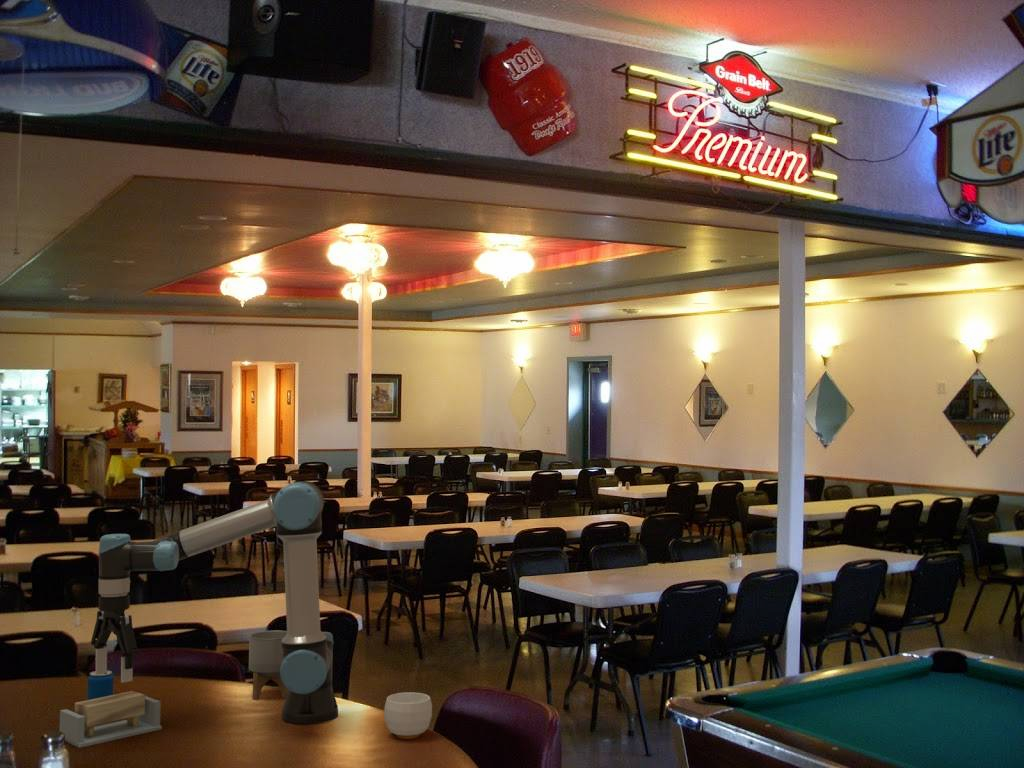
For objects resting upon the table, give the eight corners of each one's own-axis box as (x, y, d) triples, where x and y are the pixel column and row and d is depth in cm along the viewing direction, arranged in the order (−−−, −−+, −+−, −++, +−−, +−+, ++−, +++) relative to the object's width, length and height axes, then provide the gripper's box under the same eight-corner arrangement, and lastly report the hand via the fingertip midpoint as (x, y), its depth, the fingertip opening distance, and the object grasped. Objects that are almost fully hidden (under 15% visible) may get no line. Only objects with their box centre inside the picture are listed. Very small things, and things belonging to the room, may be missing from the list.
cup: (412, 745, 258) (412, 706, 259) (374, 737, 265) (374, 699, 265) (441, 733, 269) (441, 696, 269) (403, 726, 275) (404, 689, 276)
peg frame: (161, 729, 270) (162, 702, 270) (79, 747, 253) (80, 718, 254) (138, 720, 278) (139, 693, 278) (57, 737, 261) (58, 709, 262)
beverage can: (117, 715, 282) (118, 671, 283) (101, 721, 276) (102, 676, 276) (98, 713, 284) (99, 669, 285) (81, 719, 278) (82, 674, 279)
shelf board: (144, 714, 270) (145, 694, 270) (86, 727, 258) (87, 707, 258) (131, 710, 274) (132, 690, 274) (74, 722, 261) (75, 702, 262)
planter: (270, 703, 296) (271, 640, 297) (238, 696, 303) (240, 635, 304) (302, 693, 307) (303, 633, 308) (270, 687, 314) (272, 628, 315)
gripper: (152, 597, 262) (151, 682, 261) (105, 588, 278) (104, 667, 277) (124, 601, 256) (123, 687, 255) (77, 591, 273) (77, 672, 272)
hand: (113, 677), depth 266 cm, fingers open, 13 cm apart
